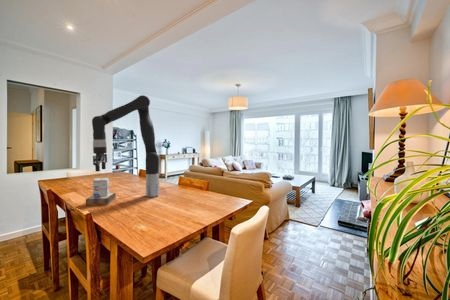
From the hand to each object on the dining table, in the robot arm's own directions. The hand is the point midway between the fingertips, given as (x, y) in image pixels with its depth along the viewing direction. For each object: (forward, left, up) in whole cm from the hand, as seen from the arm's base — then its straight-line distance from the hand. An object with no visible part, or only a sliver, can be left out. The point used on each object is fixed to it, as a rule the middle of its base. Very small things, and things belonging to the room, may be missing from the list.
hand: (100, 170), depth 128 cm
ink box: (0, 0, -18) cm, 18 cm away
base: (0, 0, -22) cm, 22 cm away
